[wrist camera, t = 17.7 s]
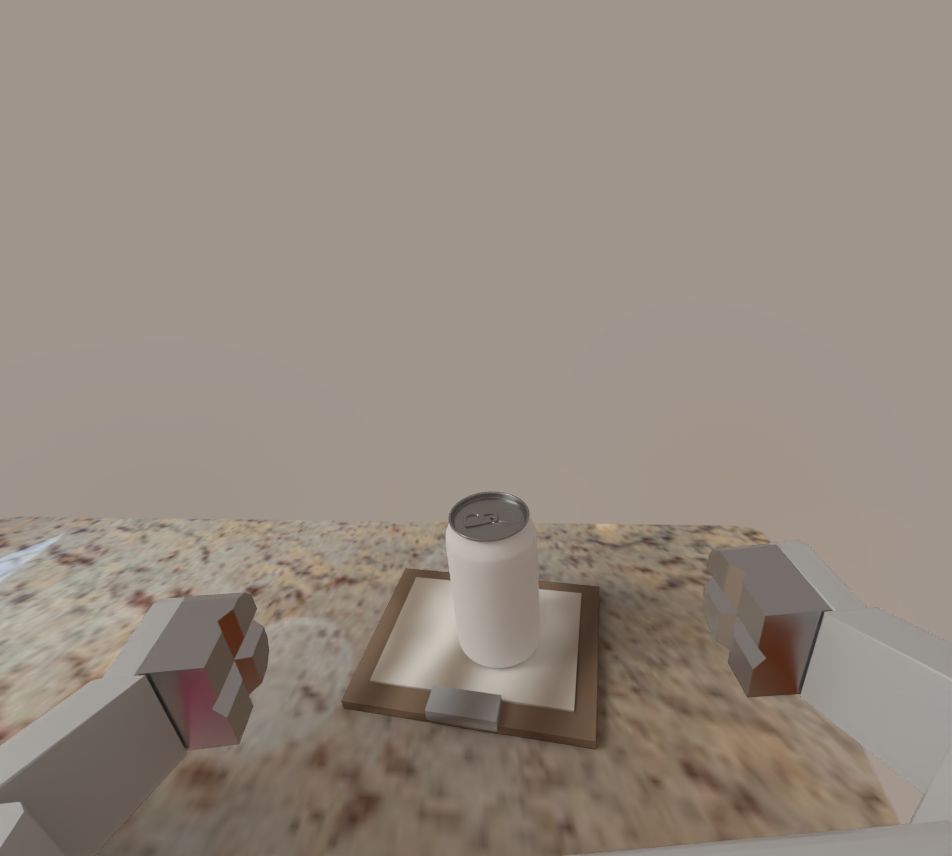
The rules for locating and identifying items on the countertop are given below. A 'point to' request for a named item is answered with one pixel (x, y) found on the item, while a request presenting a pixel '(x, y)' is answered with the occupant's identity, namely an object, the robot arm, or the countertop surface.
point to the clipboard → (479, 687)
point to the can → (494, 578)
